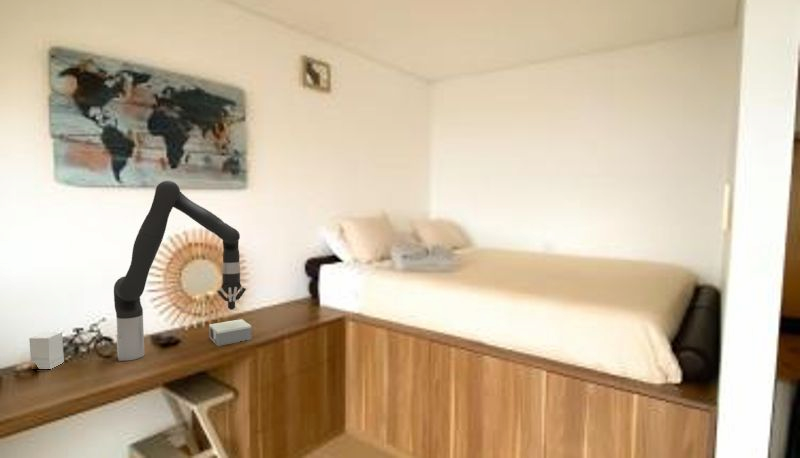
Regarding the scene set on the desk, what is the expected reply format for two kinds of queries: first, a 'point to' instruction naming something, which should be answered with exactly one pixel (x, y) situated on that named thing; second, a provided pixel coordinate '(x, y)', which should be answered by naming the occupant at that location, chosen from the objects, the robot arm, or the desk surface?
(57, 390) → the desk surface
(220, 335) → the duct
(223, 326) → the panel
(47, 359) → the supplement box
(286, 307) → the desk surface
